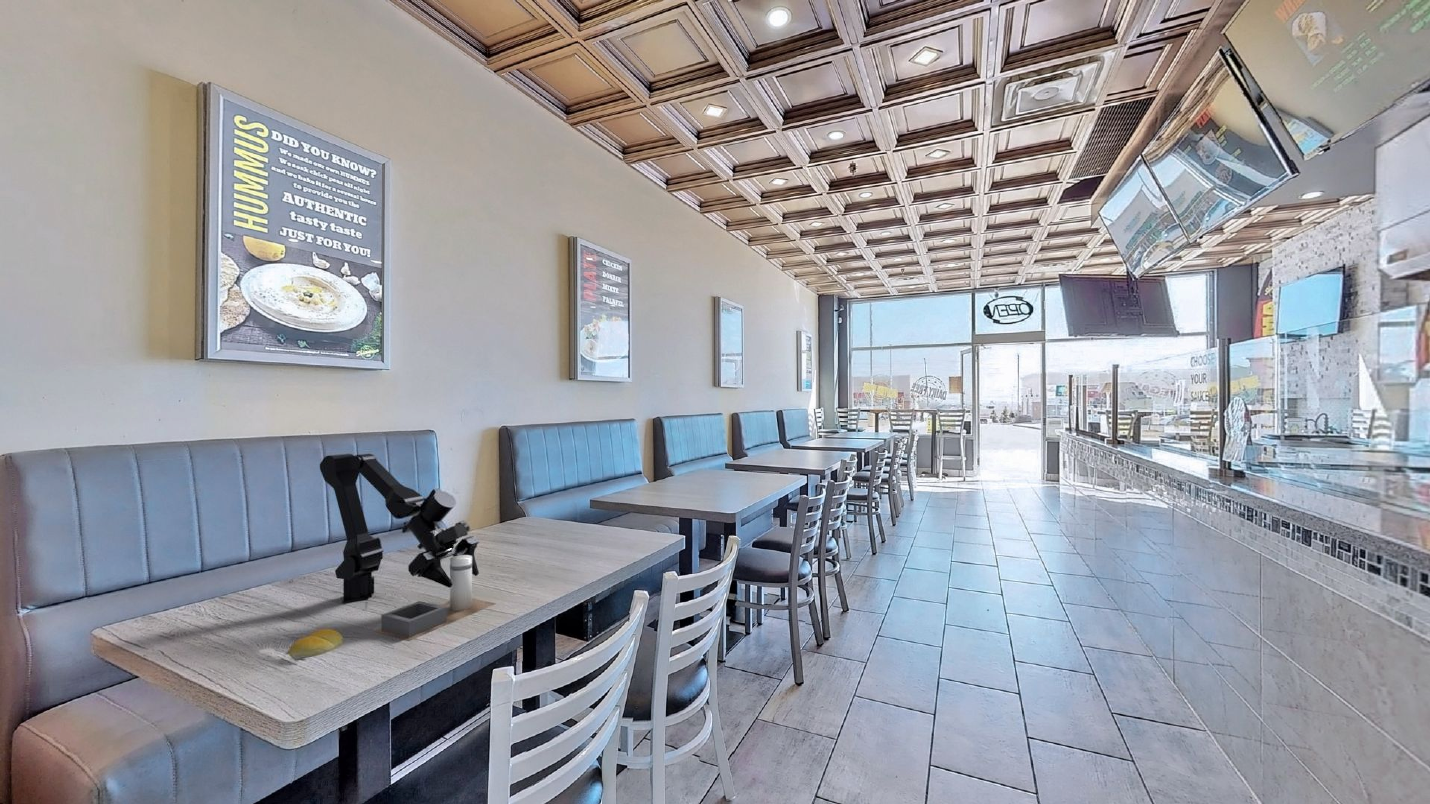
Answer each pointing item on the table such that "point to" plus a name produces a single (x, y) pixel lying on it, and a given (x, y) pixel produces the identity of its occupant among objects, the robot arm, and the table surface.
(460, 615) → the board
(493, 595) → the table surface
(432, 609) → the socket collar
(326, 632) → the bread roll
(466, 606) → the white capped cylinder
